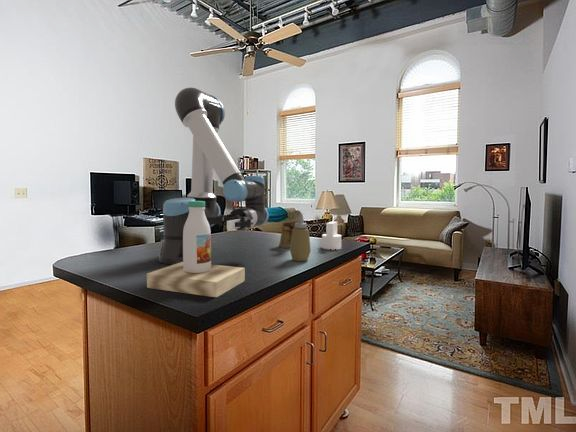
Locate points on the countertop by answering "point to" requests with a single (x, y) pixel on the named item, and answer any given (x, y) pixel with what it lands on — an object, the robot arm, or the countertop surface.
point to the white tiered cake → (331, 237)
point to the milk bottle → (196, 240)
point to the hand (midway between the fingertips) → (208, 224)
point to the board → (196, 280)
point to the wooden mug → (288, 230)
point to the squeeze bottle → (300, 241)
